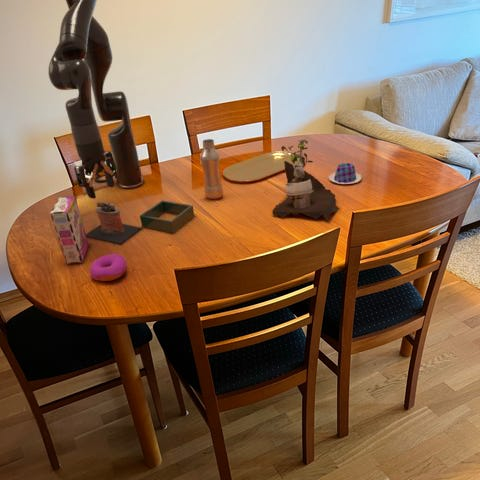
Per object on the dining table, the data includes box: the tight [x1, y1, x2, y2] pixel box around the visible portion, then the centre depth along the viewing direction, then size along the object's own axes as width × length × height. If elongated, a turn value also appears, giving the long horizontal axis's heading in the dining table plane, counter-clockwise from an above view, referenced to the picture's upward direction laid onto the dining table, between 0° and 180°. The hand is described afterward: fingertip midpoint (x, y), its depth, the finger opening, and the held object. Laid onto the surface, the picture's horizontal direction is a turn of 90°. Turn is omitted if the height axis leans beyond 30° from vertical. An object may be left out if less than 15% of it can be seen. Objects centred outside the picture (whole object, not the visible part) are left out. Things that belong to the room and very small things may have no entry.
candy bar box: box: [49, 195, 90, 265], centre depth 135 cm, size 11×5×16 cm, turn 5°
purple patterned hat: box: [328, 162, 363, 185], centre depth 169 cm, size 12×12×5 cm
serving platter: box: [222, 151, 300, 184], centre depth 184 cm, size 19×35×2 cm, turn 128°
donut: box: [89, 253, 128, 282], centre depth 129 cm, size 10×10×5 cm
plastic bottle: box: [199, 138, 224, 200], centre depth 160 cm, size 6×7×20 cm
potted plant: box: [272, 138, 339, 221], centre depth 151 cm, size 20×19×25 cm
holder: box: [139, 199, 195, 234], centre depth 152 cm, size 13×13×4 cm
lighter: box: [95, 201, 125, 234], centre depth 146 cm, size 8×3×10 cm, turn 71°
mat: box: [86, 223, 143, 246], centre depth 150 cm, size 15×11×1 cm
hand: (102, 192), depth 141 cm, fingers open, 8 cm apart
